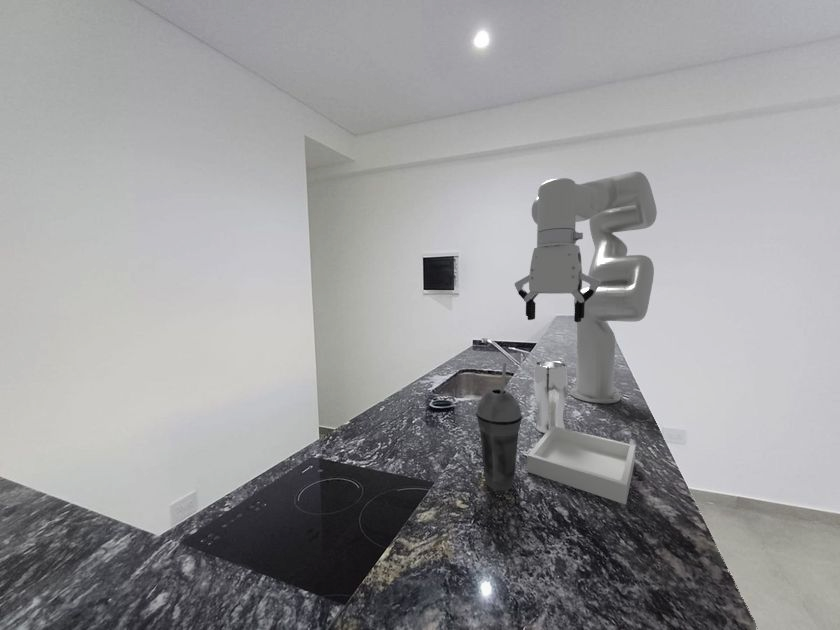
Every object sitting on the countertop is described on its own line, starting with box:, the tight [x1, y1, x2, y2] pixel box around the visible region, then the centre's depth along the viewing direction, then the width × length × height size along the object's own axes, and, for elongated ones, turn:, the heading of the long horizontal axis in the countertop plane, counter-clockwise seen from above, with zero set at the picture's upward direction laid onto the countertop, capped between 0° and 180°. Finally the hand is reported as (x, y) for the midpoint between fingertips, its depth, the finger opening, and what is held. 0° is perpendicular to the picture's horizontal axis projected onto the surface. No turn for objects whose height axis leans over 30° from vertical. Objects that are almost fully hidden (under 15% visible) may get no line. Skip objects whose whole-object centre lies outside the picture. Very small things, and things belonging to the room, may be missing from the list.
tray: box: [526, 426, 636, 505], centre depth 57 cm, size 15×15×3 cm
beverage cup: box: [475, 362, 523, 492], centre depth 53 cm, size 7×7×20 cm
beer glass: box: [533, 360, 569, 435], centre depth 72 cm, size 7×7×15 cm
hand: (553, 320), depth 70 cm, fingers open, 9 cm apart
